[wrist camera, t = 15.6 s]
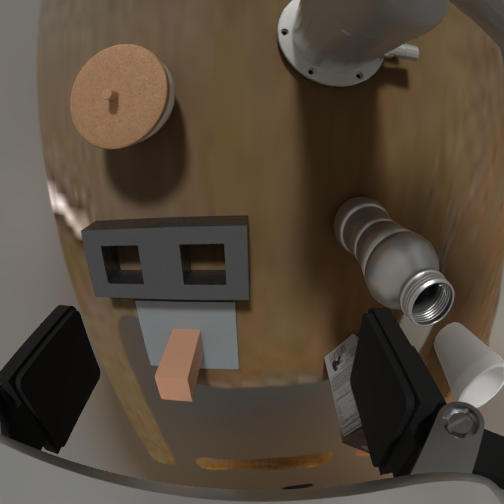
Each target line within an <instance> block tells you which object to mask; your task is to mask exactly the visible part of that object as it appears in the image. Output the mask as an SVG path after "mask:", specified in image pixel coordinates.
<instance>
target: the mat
mask: <svg viewBox="0 0 504 504" xmlns="http://www.w3.org/2000/svg"><path fill="white" fill-rule="evenodd" d="M135 303H136V308H137V312H138V317H139V321H140V325H141V329H142V333H143V337H144V341H145V345H146V349H147V353H148V356H149V360H150V364H151V365H155V366H159V364H160V361H161V359H162V356H163V353H164V351H165V348H166V346H167V343H168V340H169V338H170V335H171V333H172V330H173V329H191V330H201V337H202V344H203V351H204V352H203V356H202V361H201V365H200V368H203V369H239V357H238V341H237V324H236V307H235V301H183V300H143V299H136V300H135Z"/></svg>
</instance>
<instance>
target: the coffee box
mask: <svg viewBox="0 0 504 504" xmlns="http://www.w3.org/2000/svg"><path fill="white" fill-rule="evenodd" d="M358 338H359V337H358V336H356V335H355V334H354V333H353V334H351V335H350V336H349V337H348V338H347V339H346V340H344V341H343V342H342V343H341V344H340V345H338V346H337V347H336V348H335V349H334V350H332V351H331V352H330V353H329V354H328V355H326V356H325V357H324V360H325V364H326V369H327V373H328V377H329V382H330V387H331V391H332V396H333V401H334V405H335V410H336V415H337V420H338V425H339V430H340V434H341V439H342V442H343V443H345V444H347V445H350V446H352V447H354V448H357V449H360V450H362V451H365V452H367V453H369V449H368V445H367V442H366V438H365V434H364V431H363V427H362V423H361V420H360V416H359V413H358V409H357V406H356V402H355V399H354V396H353V392H352V389H351V385H350V375H351V371H352V366H353V362H354V357H355V353H356V348H357V343H358Z"/></svg>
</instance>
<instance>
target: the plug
mask: <svg viewBox="0 0 504 504" xmlns="http://www.w3.org/2000/svg"><path fill="white" fill-rule="evenodd" d="M203 352H204V351H203V344H202V337H201V330H191V329H173V330H172V333H171V335H170V338H169V340H168V343H167V346H166V348H165V351H164V353H163V356H162V359H161V361H160V364H159V367H158V369H157V372H156V375H155V380H156V383H157V386H158V389H159V393H160V396H161V399H168V400H179V401H193V396H194V391H195V387H196V383H197V378H198V374H199V369H200V365H201V361H202V356H203Z"/></svg>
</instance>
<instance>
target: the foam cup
mask: <svg viewBox="0 0 504 504" xmlns="http://www.w3.org/2000/svg"><path fill="white" fill-rule="evenodd" d="M433 345H434V349H435V352H436V354H437V357H438V359H439V361H440V364H441V366H442V369H443V371H444V374H445V376H446V379H447V381H448V384H449V387H450V389H451V392H452V398H453V400H454V402H457V401H460V402H466V403H468V404H471V405H473V406H474V407H475V408H478V407H480V406H481V405H483V404H485V403H486V402H487V401H489V400H490V399H491V398H492V397H494V396H495V394H496V393H497V392H498V391H499V390H500V389H501V387H502V386H503V384H504V361H503V359H502V358H501V357H500V356H499V355H498V354H497V353H494V352H493V351H492V350H491V349H490V348H489V347H488V346H486V345H485V344H484V343H483V342H482V341H481V340H480V339H478V338H477V337H476V336H475V335H474V334H473V333H471V332H470V331H469V330H468V329H467V328H465V327H464V326H463V325H462V324H460V323H458V322H453V323H450V324H448V325H446V326H445V327H444V328H442V329H441V330H440V331H439V333H438V334H437V335H436V337H435V340H434V343H433Z"/></svg>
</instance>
